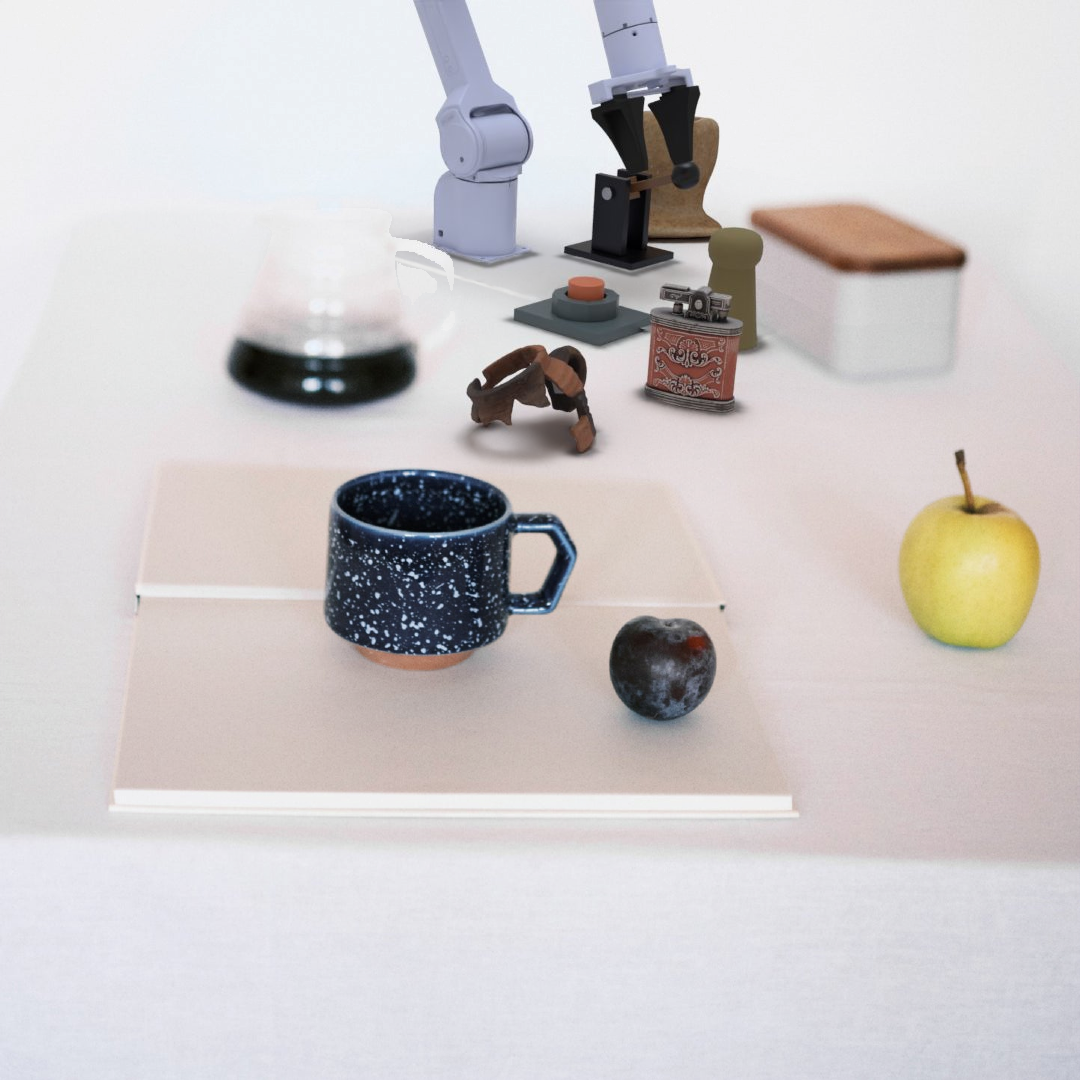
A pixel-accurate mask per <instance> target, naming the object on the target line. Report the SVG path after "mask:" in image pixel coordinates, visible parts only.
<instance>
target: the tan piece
mask: <svg viewBox="0 0 1080 1080" xmlns="http://www.w3.org/2000/svg"><path fill="white" fill-rule="evenodd" d="M643 127H644V138H645V144H646V149H647V155H648V170H647V171H643V173H647V174H652V175H653V176H652V178H656V177H660V176H664V175H669V174H671V172H672V169H673V167H674V164H673V162H672V160H671V158H670V155H669V152H668V149H667V146H666V142H665V139H664V136H663V133H662V131H661V128H660V126H659V124H658V122H657V120H656V118H655V116H654V115H653V113H652V111H651V110H644V112H643ZM719 144H720V126H719V123H718V122H717V121H716V120H715V119H713V118H710V117H704V116H696V115H695V118H694V127H693V161H692V162H694V163H695V164H696V165H697V166H698V167H699V169H700V180H699V182H698V184H697V185H696V186H695V187H694V188H692V189H690V190H681V189H678V188H677V187H676V186H675V185H674V184H673V183H671V184H667V185H663V186H658V187H654V188H652V189H651V202H650V216H649V229H648V239H688V238H704V237H711V236H712V234H713V233H714V232H715V231H717V230H719V229H721V228H723V227H722V225H721V224H720V223H719V222H718V221H717V220H716V219H714V218H713V217H711V216H710V215H708V213H706V211H705V209H704V198H705V192H706V190H707V187H708V184H709V182H710V180H711V177H712V175H713V173H714V170H715V167H716V164H717V160H718V155H719V146H720V145H719Z"/></svg>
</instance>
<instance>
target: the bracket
mask: <svg viewBox="0 0 1080 1080" xmlns="http://www.w3.org/2000/svg"><path fill="white" fill-rule="evenodd" d="M594 174H595V176H594V191H593V207H592V209H593V211H592V212H593V213H592V224H591V225H592V227H591V239H588V240H584V241H581V242H576V243H572V244H569V245H566V246H564V247H563V253H564V254H567V255H570V256H573V257H577V258H582V259H585V260H589V261H593V262H596V263H601V264H605V265H608V266H612V267H615V268H620V269H624V270H627V271H631V272H632V271H636V270H638V269H639V270H640V269H642V268H646V267H649V266H653V265H657V264H660V263H663V262H666V261H670V260H673V259H674V257H675V252H674V251H670V250H667V249H662V248H659V247H656V246H651V245H648V241H649V240H648V239H649V238H648V229H649V216H650V202H651V189H652V188H650V189H645V190H641V191H639V193H640V197H639V198H635V199H630V186H631V179H627V178H629V177H633V176H636V178H637V182H639V181H644V180H648V179H652V176H653V175H652V174H647V173H643V172H640V173H637V174H633V175H629V174H628V172H627V170H626V168H625V167H624V168H617V170H616V175H613V174H609V173H605V172H598V173H594Z"/></svg>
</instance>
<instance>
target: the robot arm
mask: <svg viewBox="0 0 1080 1080" xmlns="http://www.w3.org/2000/svg"><path fill="white" fill-rule="evenodd" d="M412 1H413V4H414V7H415V11H416V13H417V15H418V18H419V21H420V24H421V27H422V30H423V33H424V36H425V39H426V41H427V45H428V48H429V50H430V53H431V56H432V59H433V62H434V64H435V68H436V70H437V73H438V75H439V79H440V81H441V85H442V87H443V91H444V93H445V96H446V99H445V101H444V102H443V104H442V106H441V107H440V109H439V111H438V112H437V114H436V116H435V122H436V126H437V129H438V132H439V151H440V155H441V159H442V161H443V163H444V165H445V167H446V168H447V170H446V171H445V172H444V173H442V175H440V177H439V178H438V180H437V182H436V184H435V187H434V193H433V242H432V243H429V244H430V245H431V246H434V247H435V248H434V249H436V248H437V250H440V251H444V252H448V253H450V254H454V255H458V256H460V257H461V256H462V257H465V258H469V259H472V260H475V261H479V262H483V263H490V262H494V261H497V260H503V259H505V258H509V257H513V256H516V255H520V254H525V253H529V252H532V248H529V247H526V246H522V245H518V244H517V216H518V215H517V213H518V184H519V183H518V182H519V178H518V177H519V175H522V174H523V165H525V164H526V163H527V162H528V161H529V159H530V158H531V156H532V154H533V149H534V134H533V130H532V126H531V124H530V123H529V121H528V119H527V118H526V117H525V116H524V115H523V113H522V112H521V111H520V109H519V107H518V106H517V103H516V99H515V97H514V96H513V95H512V94H511V93H510V92H508V91H507V90H505V89H504V88H503V87H501V86H500V85H499V84H498V83H496V82H495V81H494V80H493V77H492V73H491V71H490V68H489V65H488V62H487V60H486V56H485V53H484V51H483V47H482V45H481V42H480V39H479V36H478V33H477V30H476V27H475V25H474V21H473V19H472V16H471V13H470V10H469V7H468V3H467V1H466V0H412ZM592 1H593V5H594V11H595V15H596V18H597V22H598V27H599V31H600V35H601V39H602V44H603V48H604V52H605V56H606V61H607V65H608V70H609V74H610V77H611V78H606V79H605V78H604V79H601V80H599V81H595V82H593V83H589V84H588V85H587V89H588V92H589V93H588V94H589V97H590V101H591V104H592V105H591V106H594V105H597V106H595V107H592V108H591V109H590V115H591V119H592V120H593V121H594V122H595V123H596V124H597V125H598V126H599V127H600V128H601V130H602V131H603V133H605V135H606V136H607V137H608V139H609V140H610V142H611V143H612V145H613V147H614V149H615V150H616V152H617V154H618V156H619V158H620V160H621V162H622V164H623V166H624V169H626V170H627V172H628V174H629V175H633V174H637V173H640V172H643V171H647V170H648V155H647V149H646V144H645V138H644V127H643V112H644V111H645V110H644V109H645V101H646V98H645V97H646V96H653V95H661V96H659V97H658V98H659V99H658V100H654V101H652V102H649V103H647V107H648V108H649V111H652V113H653V115H654V116H655V118H656V120H657V122H658V124H659V126H660V128H661V131H662V133H663V136H664V139H665V142H666V146H667V149H668V152H669V155H670V158H671V160H672V162H673V164H674V166H676V165H680V164H683V163H687V162H690V161H693V127H694V118H695V116H696V112H697V107H698V104H699V100H700V97H701V90H700V85H694V80H693V75H692V70H691V68H689V67H688V68H677V65H676V64H669V65H668V63H667V57H666V54H665V48H664V44H663V41H662V37H661V31H660V27H659V22H658V18H657V14H656V10H655V9H656V8H655V4H654V1H653V0H592ZM645 88H647V89H645ZM639 89H641V90H639Z"/></svg>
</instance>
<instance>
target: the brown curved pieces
mask: <svg viewBox="0 0 1080 1080" xmlns="http://www.w3.org/2000/svg"><path fill="white" fill-rule="evenodd" d="M586 361H587V360H586V359H585V357H584V355H583V354H582V352H581V351H580V350H579V349H578V348H576V347H574V346H572V345H569V344H568V345H562V346H560V347H556V348H554V349H553V350H551V352H549V353H548V351H547V349H546V347H545V346H544V345H542V344H530V345H525V346H523V347H519V348H516V349H514V350H513V351H510V352H508V353H507V354H505V355H503V356H501V357H500V358H499V359H496V360H494V361H493V362H491V363H490V364H489V365H488V366H486V367H485V368H484V369H482V370H481V373H482V376H483V377H484V379H485V382H484V383H483V384H482V382H481V380H480V378H479V377H475V378H474V379H473V380H472V381H471V382H469V384H468V385H467V388H466V392H465V393H466V395H467V397H468V398H469V399H470V401H471V402H472V404H471V410H470V417H471V418H470V419H471V421H472V422H475V424H483V425H485V426H488V425H489V424H490V423H491V422H495V421H501V422H502V423H503V424H504V425H507V426H510V427H512V426H513V423H512V414H513V409H514V403H515V400H516V401H518V402H519V403H520V404H522V405H523V406H528V407H529V406H531V407H535V408H538V409H545V408H549V407H550V406H551V407H552V409H553V410H555V411H562V412H563V413H572V412H573V411H575V410H576V414H577V419H578V420H577V422H576V423H574V425H573V427H571V428H570V434H571V435H572V437H573V438H574V439H575V445H576V448H577V452H579V453H583V452H584V451H586V450H587V449H588V448H589V447H590V446H591V445H592V444H593V442H594V440H595V438H596V437H597V429H596V427H595V423H594V418H593V414H592V413H591V410H590V406H589V405H588V404H589V403H588V402H589V400H588V397H587V395H586V390H585V387H586V386H585V385H586V383H587V377H588V376H587V375H588V366H587V362H586ZM521 370H522V371H521ZM519 371H520V373H518V374H516V373H517V372H519ZM514 374H516V375H514ZM512 375H514V377H512V378H510V379H509V380H507V381H504V382H503V383H501V382H502V381H503V380H504V379H506V378H507V377H511V376H512ZM499 383H501V384H499ZM498 384H499V385H498ZM547 393H548V396H547ZM549 398H550V400H549Z"/></svg>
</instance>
